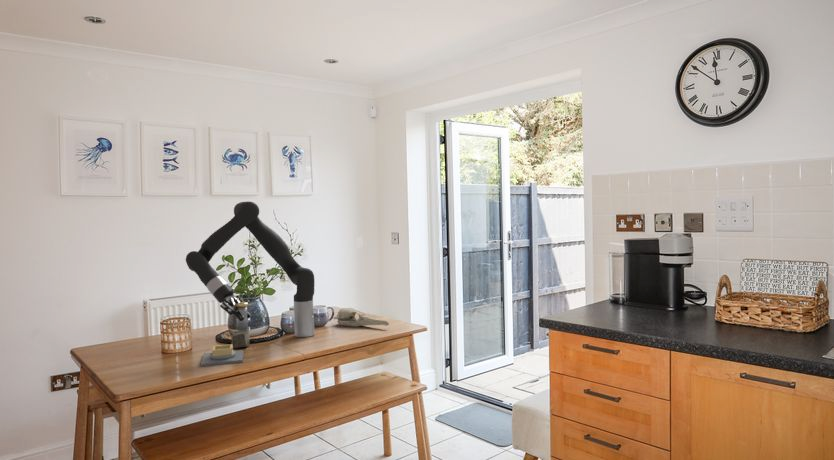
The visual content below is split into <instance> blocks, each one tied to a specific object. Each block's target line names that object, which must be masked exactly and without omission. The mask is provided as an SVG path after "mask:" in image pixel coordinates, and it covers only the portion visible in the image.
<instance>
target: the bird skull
mask: <svg viewBox="0 0 834 460" xmlns="http://www.w3.org/2000/svg"><path fill="white" fill-rule="evenodd" d="M356 314H357V315H358V318H356ZM333 319H334V320H337V324H338V325H339V326H343V327H345V326H346V327H353V328H354V327H356V328H357V327H362V326H363V327H364V326H390V323H389V322H388V321H387V320H381V319H376V318H372V317H369V316H367V315H366V314H365V312H362V311H361V310H358V309H355V308H353V307H345V308H341V309H339V310H338V311H337V314H336V316H334V317H333Z"/></svg>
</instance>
